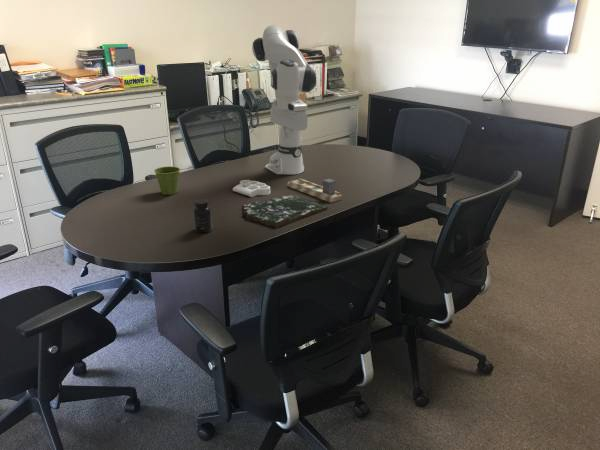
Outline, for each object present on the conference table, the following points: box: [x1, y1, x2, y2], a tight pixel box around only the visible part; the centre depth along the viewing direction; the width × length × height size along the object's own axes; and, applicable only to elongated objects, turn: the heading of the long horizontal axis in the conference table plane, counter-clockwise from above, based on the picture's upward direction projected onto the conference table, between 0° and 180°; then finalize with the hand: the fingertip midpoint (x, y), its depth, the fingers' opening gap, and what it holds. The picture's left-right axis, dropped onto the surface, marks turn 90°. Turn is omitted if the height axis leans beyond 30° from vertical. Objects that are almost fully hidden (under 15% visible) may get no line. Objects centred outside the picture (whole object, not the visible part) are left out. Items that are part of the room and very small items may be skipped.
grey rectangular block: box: [322, 178, 336, 195], centre depth 231 cm, size 4×4×6 cm
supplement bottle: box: [192, 199, 213, 234], centre depth 196 cm, size 7×7×12 cm
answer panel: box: [287, 177, 343, 203], centre depth 240 cm, size 30×7×3 cm, turn 41°
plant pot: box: [153, 166, 181, 196], centre depth 236 cm, size 12×12×11 cm
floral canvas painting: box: [241, 193, 328, 229], centre depth 218 cm, size 26×33×3 cm
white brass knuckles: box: [232, 179, 271, 198], centre depth 241 cm, size 3×18×15 cm
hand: (287, 137), depth 208 cm, fingers closed
